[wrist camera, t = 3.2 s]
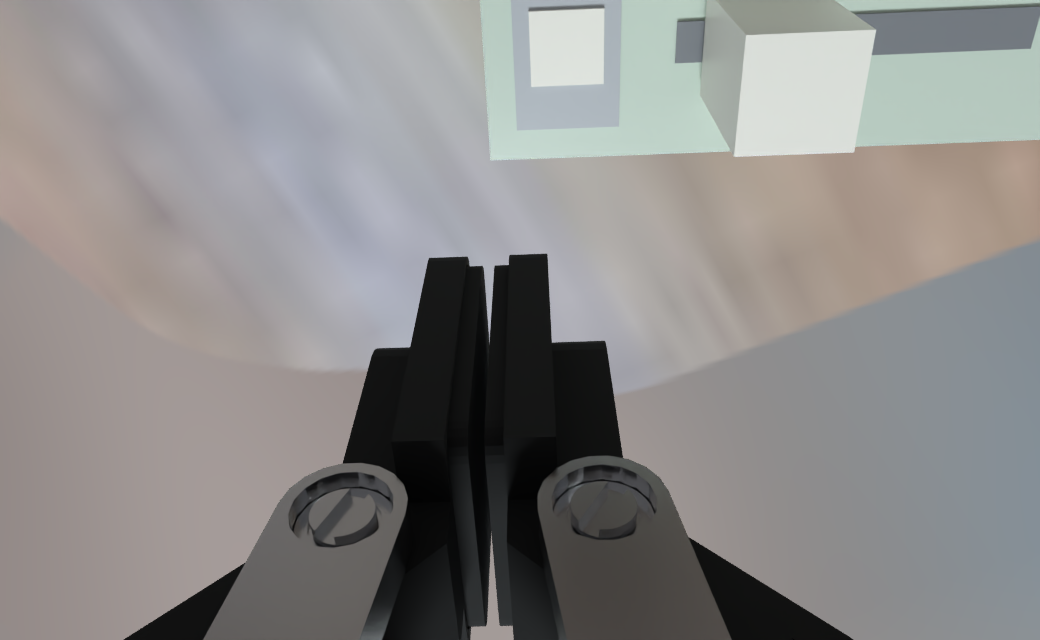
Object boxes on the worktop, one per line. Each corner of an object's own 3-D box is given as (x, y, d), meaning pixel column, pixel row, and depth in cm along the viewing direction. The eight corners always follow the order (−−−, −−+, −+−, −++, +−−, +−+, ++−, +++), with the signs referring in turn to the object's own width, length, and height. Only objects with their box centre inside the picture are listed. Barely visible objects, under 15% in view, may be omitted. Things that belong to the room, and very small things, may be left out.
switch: (814, -14, 24) (876, 29, 19) (799, 90, 25) (853, 152, 21) (707, -10, 24) (745, 35, 19) (700, 95, 25) (734, 156, 21)
